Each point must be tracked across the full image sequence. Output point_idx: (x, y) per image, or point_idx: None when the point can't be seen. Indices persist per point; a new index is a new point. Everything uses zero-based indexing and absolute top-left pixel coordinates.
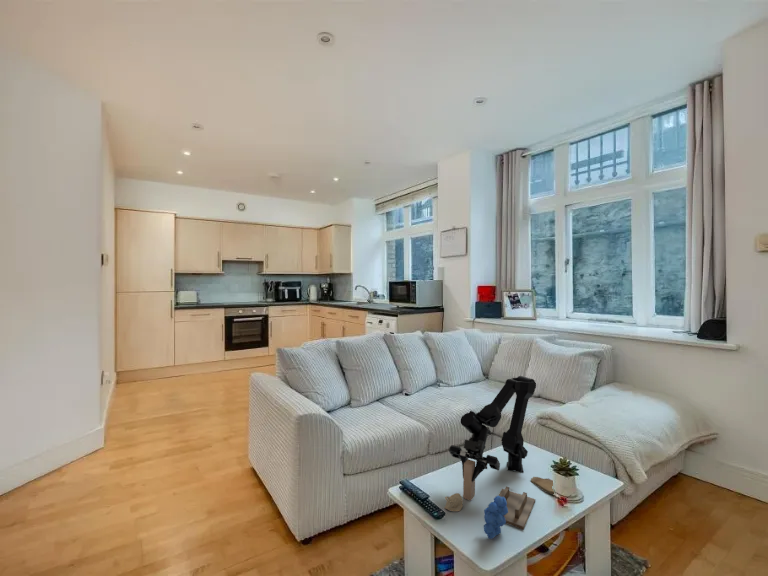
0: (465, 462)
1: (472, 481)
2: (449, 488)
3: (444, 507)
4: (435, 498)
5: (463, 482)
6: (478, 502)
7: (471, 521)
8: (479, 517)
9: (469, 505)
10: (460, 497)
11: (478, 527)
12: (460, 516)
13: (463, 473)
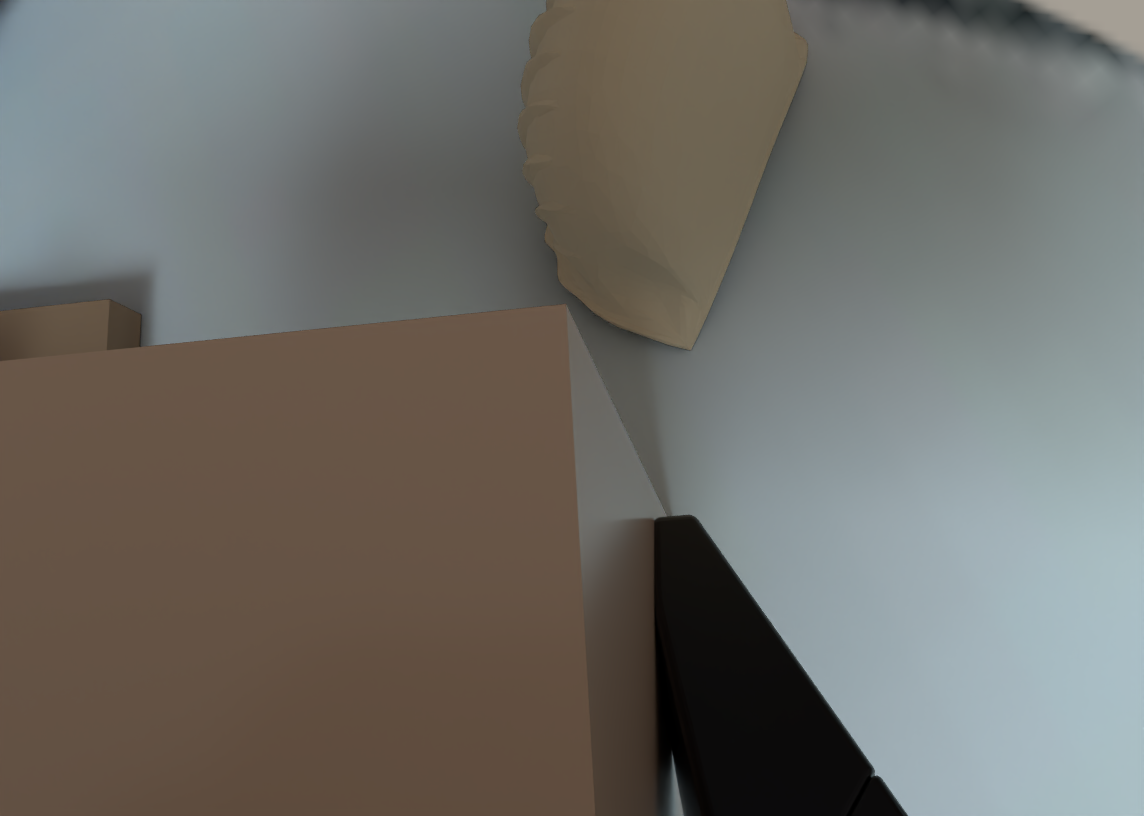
0: (516, 642)
1: None
2: (1102, 684)
3: (803, 41)
4: (1108, 171)
5: (659, 501)
6: None
7: (302, 54)
8: (232, 212)
9: None
10: (531, 88)
11: (179, 11)
12: (483, 43)
13: (708, 589)
